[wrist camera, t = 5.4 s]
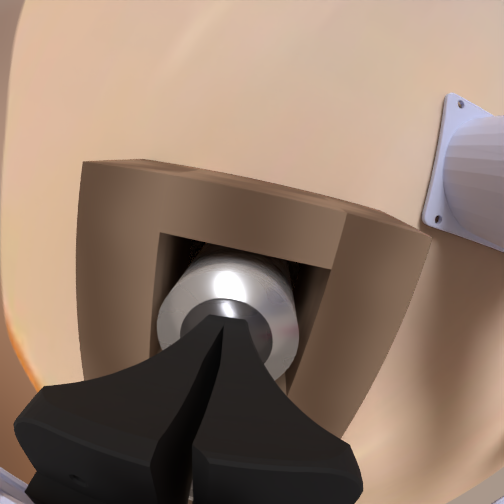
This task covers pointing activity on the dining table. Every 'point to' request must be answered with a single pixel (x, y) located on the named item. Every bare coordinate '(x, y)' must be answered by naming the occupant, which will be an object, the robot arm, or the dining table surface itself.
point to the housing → (253, 240)
